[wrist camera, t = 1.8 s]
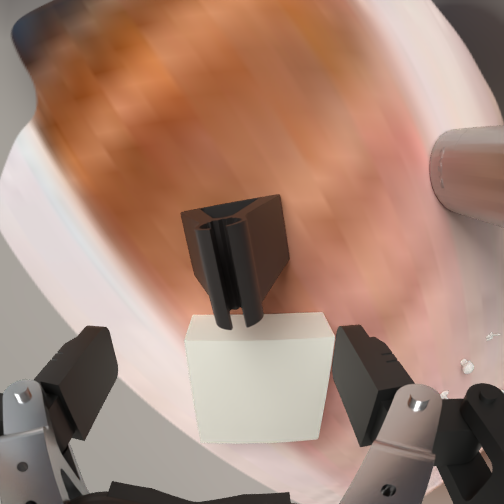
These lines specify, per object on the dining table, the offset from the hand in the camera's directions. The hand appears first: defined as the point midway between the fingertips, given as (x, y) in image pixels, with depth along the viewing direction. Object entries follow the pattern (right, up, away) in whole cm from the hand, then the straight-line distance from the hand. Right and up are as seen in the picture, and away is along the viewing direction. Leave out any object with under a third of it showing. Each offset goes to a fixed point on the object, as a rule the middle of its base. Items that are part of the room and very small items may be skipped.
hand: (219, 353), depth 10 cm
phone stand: (0, +5, +18) cm, 19 cm away
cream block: (+2, -9, +22) cm, 24 cm away
